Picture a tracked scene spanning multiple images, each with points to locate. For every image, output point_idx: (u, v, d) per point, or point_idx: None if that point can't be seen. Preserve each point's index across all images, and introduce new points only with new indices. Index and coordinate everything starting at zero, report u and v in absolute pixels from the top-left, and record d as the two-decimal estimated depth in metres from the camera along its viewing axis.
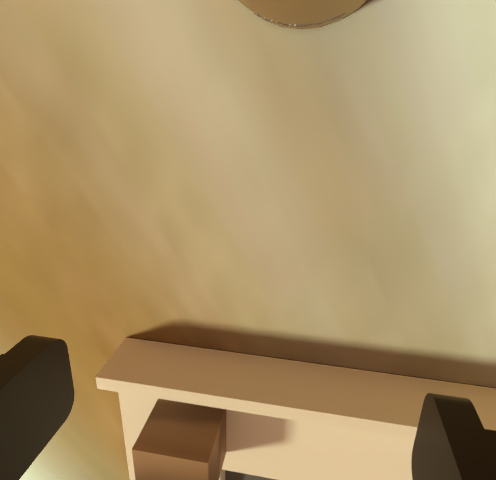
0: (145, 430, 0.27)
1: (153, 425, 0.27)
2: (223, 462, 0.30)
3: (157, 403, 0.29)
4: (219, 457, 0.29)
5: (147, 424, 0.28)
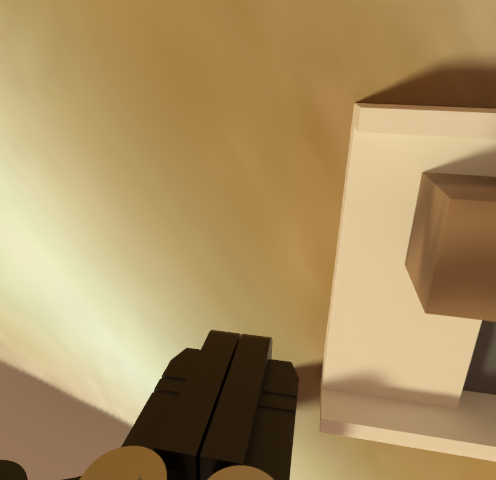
0: (446, 189, 0.17)
1: (452, 187, 0.17)
2: None
3: (430, 176, 0.19)
4: None
5: (441, 186, 0.17)
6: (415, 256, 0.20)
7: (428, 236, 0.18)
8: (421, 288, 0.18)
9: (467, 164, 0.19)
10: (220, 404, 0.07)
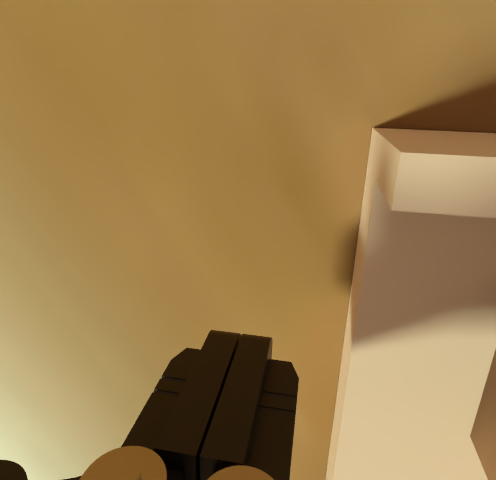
0: None
1: None
2: None
3: None
4: None
5: None
6: None
7: None
8: None
9: None
10: (220, 404, 0.07)
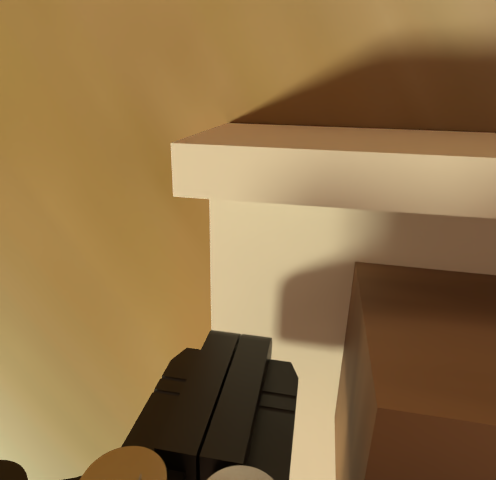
0: (383, 343, 0.07)
1: (400, 330, 0.07)
2: None
3: (364, 280, 0.09)
4: None
5: (375, 327, 0.07)
6: (340, 432, 0.10)
7: (351, 428, 0.08)
8: None
9: (433, 246, 0.10)
10: (220, 404, 0.07)
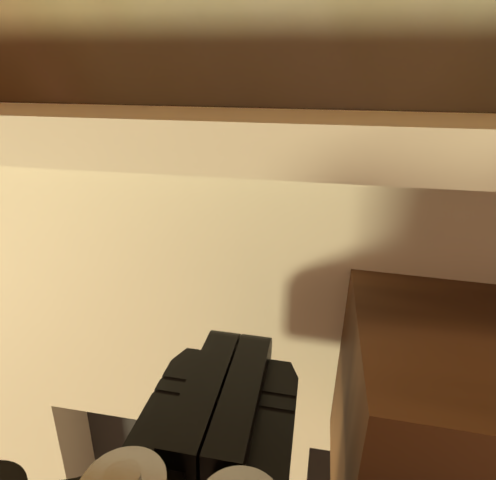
0: (376, 352, 0.07)
1: (393, 339, 0.08)
2: None
3: (359, 288, 0.09)
4: None
5: (369, 336, 0.08)
6: (335, 435, 0.10)
7: (345, 433, 0.08)
8: None
9: None
10: (220, 404, 0.07)
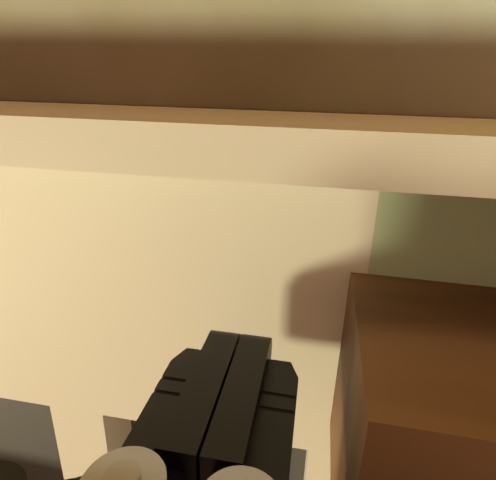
0: (375, 357, 0.07)
1: (392, 343, 0.08)
2: None
3: (359, 291, 0.09)
4: None
5: (368, 340, 0.08)
6: (335, 438, 0.10)
7: (345, 437, 0.08)
8: None
9: None
10: (220, 404, 0.07)
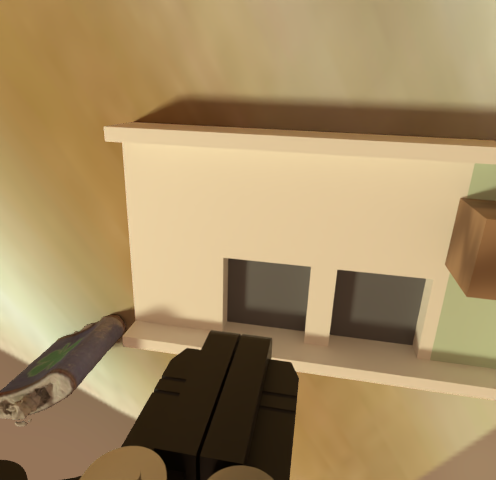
0: (482, 212, 0.24)
1: (485, 210, 0.25)
2: None
3: (467, 201, 0.27)
4: None
5: (477, 209, 0.25)
6: (455, 258, 0.27)
7: (467, 244, 0.25)
8: (462, 280, 0.26)
9: (191, 161, 0.30)
10: (220, 404, 0.07)
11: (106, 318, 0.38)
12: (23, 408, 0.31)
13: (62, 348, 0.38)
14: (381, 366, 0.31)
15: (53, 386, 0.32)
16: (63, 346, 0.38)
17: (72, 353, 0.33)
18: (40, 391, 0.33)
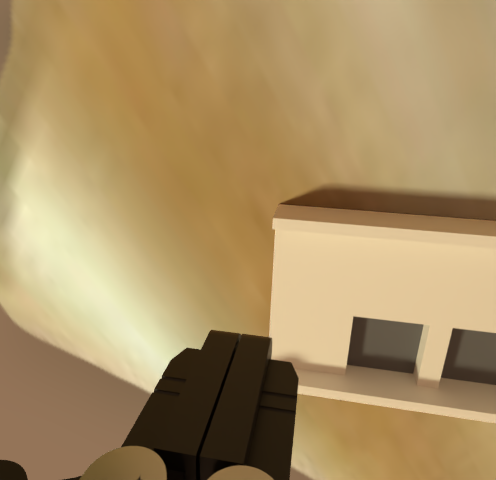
0: None
1: None
2: None
3: None
4: None
5: None
6: None
7: None
8: None
9: (335, 241, 0.37)
10: (220, 404, 0.07)
11: None
12: None
13: None
14: (488, 407, 0.38)
15: None
16: None
17: None
18: None
